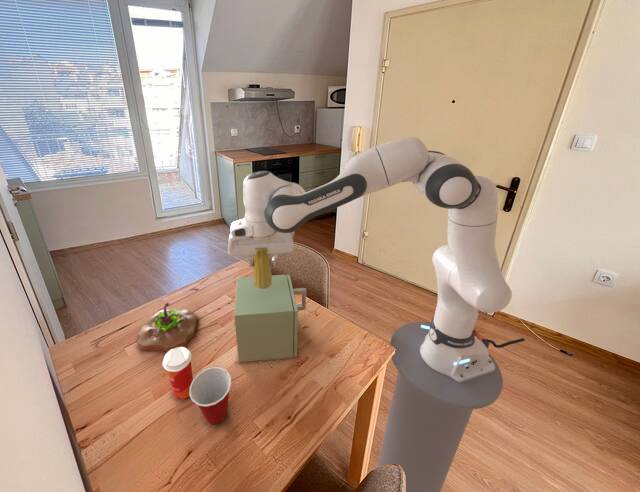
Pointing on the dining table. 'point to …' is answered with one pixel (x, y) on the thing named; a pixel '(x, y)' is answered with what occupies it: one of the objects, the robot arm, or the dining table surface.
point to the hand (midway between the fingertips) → (261, 265)
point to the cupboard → (264, 320)
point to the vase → (262, 269)
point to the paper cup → (179, 371)
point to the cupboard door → (296, 309)
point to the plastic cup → (211, 393)
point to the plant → (167, 329)
